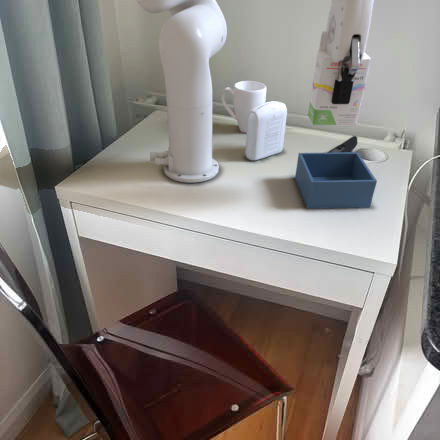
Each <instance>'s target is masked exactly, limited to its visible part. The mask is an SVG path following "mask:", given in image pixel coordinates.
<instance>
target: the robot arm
mask: <svg viewBox="0 0 440 440" xmlns="http://www.w3.org/2000/svg"><path fill="white" fill-rule="evenodd" d="M135 1H136V2H137V4H138V5H139V6H140V8H142V10H143V11H145V12H147V13H149V14H150V13H151V14H160V13H164V12H167V11H169V13H170V14H171V16H170V17H169V18H168V19H167V20H166V21H165V23H164V24H163V26H162V28H161V30H160V33H159V38H158V48H159V49H158V51H159V57H160V61H161V65H162V70H163V76H164V77H163V78H164V85H165V86H164V87H165V98H166V113H167V129H168V148H167V149H168V150H164V151H163V152H158V151H150V152H149V159H150V162H154V164H155V165H156V166H159V165H160V166H161V165H163V172H164V174H165V176H166V177H168V178H170V179H171V180H174V181H176V182H181V183H190V184H192V183H193V184H195V183H202V182H206V181H209V180H211V179H213V178H215V177H216V176H217V175H218V174H219V171H220V167H219V166H220V165H219V163H218V161H217V160H215V158H213V82H212V76H211V75H212V74H211V69H210V59H211V58H212V57H213V56H214V55H216V54H217V53H218V52H220V50H221V49H222V48H223V47H224V45H225V43H226V41H227V35H228V26H227V21H226V18H225V16H224V13H223V11H222V9H221V8H220V5H219V4H218V2H217V0H135ZM374 1H375V0H331V3H330V7H329V12H328V18H327V22H326V28H325V31H328V37H327V43H326V49H325V51H326V52H327V53H328V54H329V55H330V57H331V59H332V60H333V61H334V62H335V63H338V62H339V67H338V77H337V80H335V83H334V89H333V95H332V101H331V102H332V104H349V102H350V97H351V92H352V87H353V82H354V80H355V74H356V71H357V70H358V69H359V62H360V61H362V59H363V57H364V54H365V53H366V49H367V44H368V40H369V36H370V35H369V34H370V28H371V23H372V17H373V16H372V15H373V9H374V3H375V2H374ZM345 57H350V61H343V59H344V58H345ZM344 65H348V67H346V68H345V69H344V71H343V66H344Z"/></svg>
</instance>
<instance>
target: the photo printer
mask: <svg viewBox="0 0 440 440" xmlns="http://www.w3.org/2000/svg"><path fill="white" fill-rule="evenodd" d="M287 115H288V109H287V106H286V104H285V103H284V102H281V101H277V100H276V101H275V100H274V101H265V103H263V104H260V105H258V106H257V107H255V108H253V109H252V110H251V111H250V112H249V114H248V121H247V133H246V135H245V136H246V137H245V140H246V141H245V153H244V154H245V156H246V159H248V160H250V161H257V160H261V159H264V158H268V157H270V156H273V155H276V154H279V153H282V151H283V150H284V143H285V142H284V141H285V132H286V125H287Z"/></svg>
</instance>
